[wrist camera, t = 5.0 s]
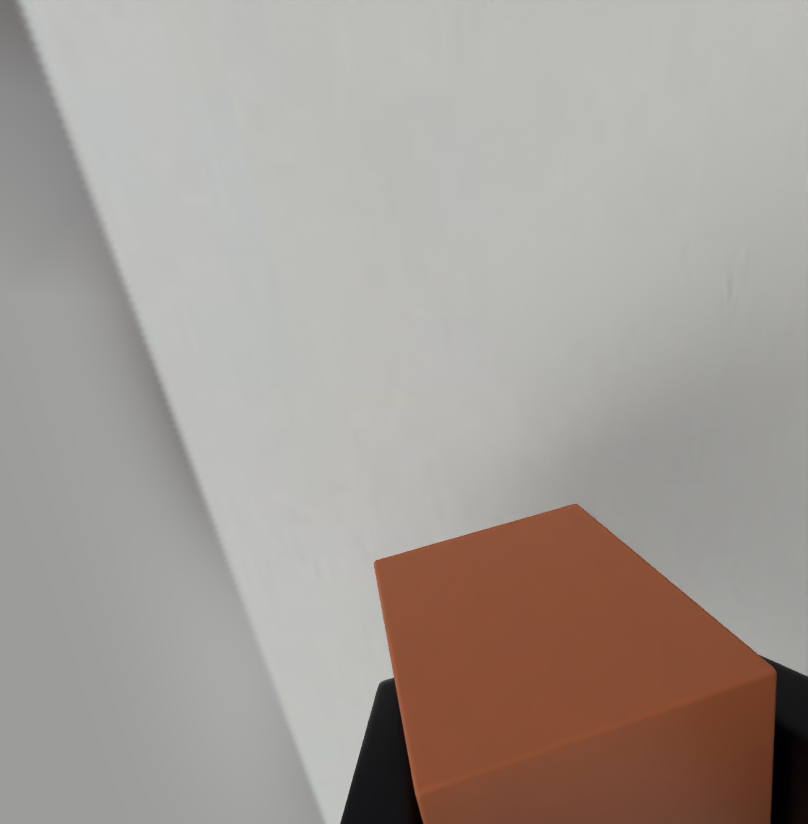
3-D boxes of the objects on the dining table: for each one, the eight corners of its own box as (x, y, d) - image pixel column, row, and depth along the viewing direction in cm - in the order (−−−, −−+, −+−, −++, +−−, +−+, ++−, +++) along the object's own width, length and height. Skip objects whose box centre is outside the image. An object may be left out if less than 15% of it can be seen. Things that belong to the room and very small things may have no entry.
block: (373, 559, 8) (414, 797, 4) (576, 502, 9) (780, 670, 5) (416, 723, 9) (479, 1025, 5) (594, 665, 10) (770, 906, 6)
